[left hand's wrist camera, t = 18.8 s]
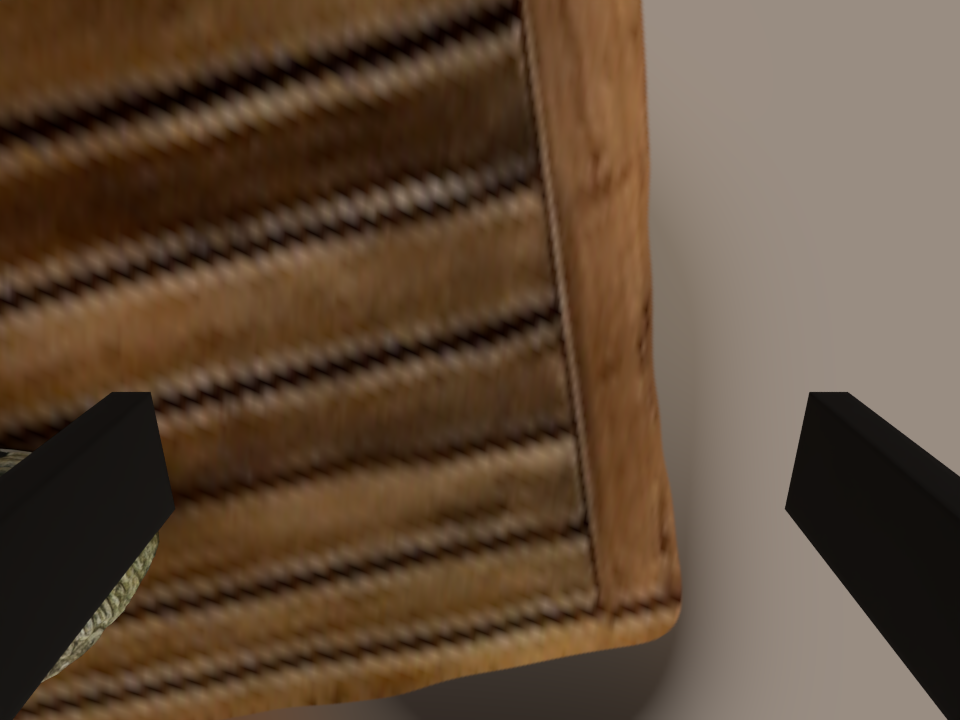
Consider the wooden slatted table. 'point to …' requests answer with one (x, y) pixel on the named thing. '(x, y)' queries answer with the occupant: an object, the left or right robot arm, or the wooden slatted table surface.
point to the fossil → (116, 599)
